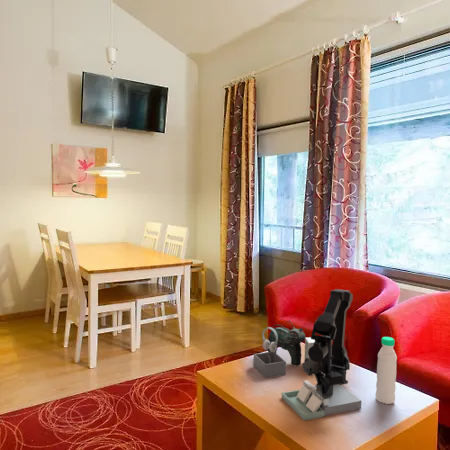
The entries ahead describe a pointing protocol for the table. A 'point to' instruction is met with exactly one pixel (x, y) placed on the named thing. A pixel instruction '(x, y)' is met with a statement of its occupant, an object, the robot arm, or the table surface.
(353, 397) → the board
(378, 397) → the water bottle
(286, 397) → the bin
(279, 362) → the gray open box
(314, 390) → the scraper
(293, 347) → the power drill
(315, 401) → the tile
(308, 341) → the supplement box
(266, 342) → the headphones
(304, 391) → the tile
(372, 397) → the table surface
